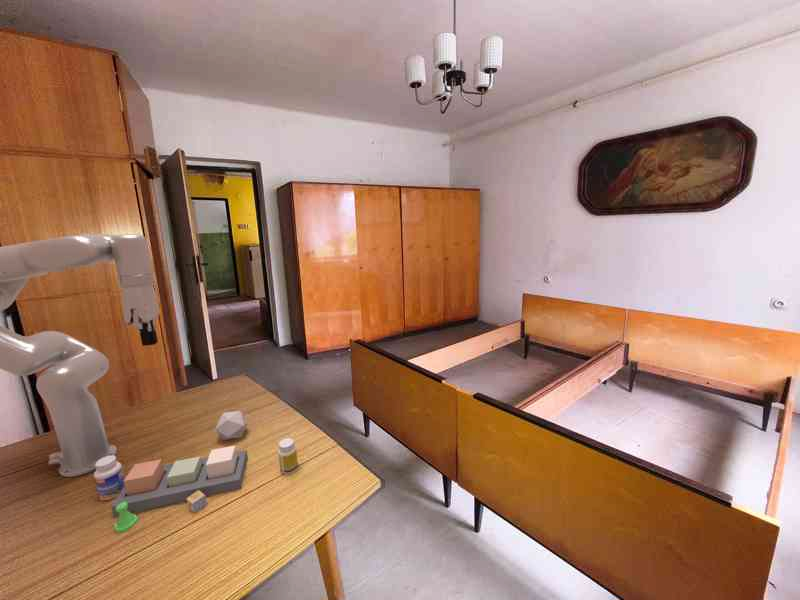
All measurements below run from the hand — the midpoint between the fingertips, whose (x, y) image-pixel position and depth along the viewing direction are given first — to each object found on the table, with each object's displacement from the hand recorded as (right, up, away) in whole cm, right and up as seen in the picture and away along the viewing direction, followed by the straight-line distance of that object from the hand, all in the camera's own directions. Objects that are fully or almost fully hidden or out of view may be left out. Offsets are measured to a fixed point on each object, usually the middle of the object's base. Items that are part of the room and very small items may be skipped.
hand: (150, 344), depth 93 cm
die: (+16, -32, +15) cm, 39 cm away
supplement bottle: (+40, -36, 0) cm, 53 cm away
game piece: (+7, -40, -17) cm, 44 cm away
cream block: (+23, -34, -3) cm, 41 cm away
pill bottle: (-4, -38, -7) cm, 39 cm away
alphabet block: (+21, -39, -12) cm, 46 cm away
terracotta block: (+5, -36, -8) cm, 37 cm away
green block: (+14, -36, -5) cm, 39 cm away
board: (+14, -37, -5) cm, 40 cm away
